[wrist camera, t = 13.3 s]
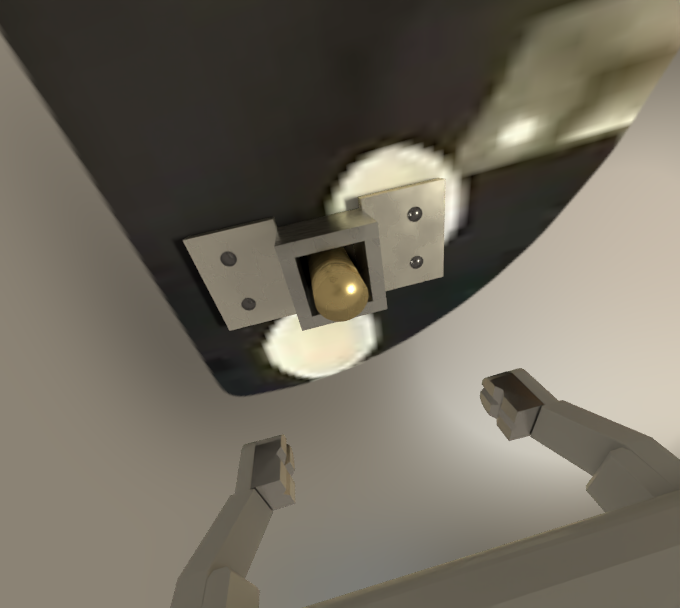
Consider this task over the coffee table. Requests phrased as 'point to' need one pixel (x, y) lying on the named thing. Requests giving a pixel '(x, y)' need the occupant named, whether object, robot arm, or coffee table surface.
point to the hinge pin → (336, 285)
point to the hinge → (318, 235)
